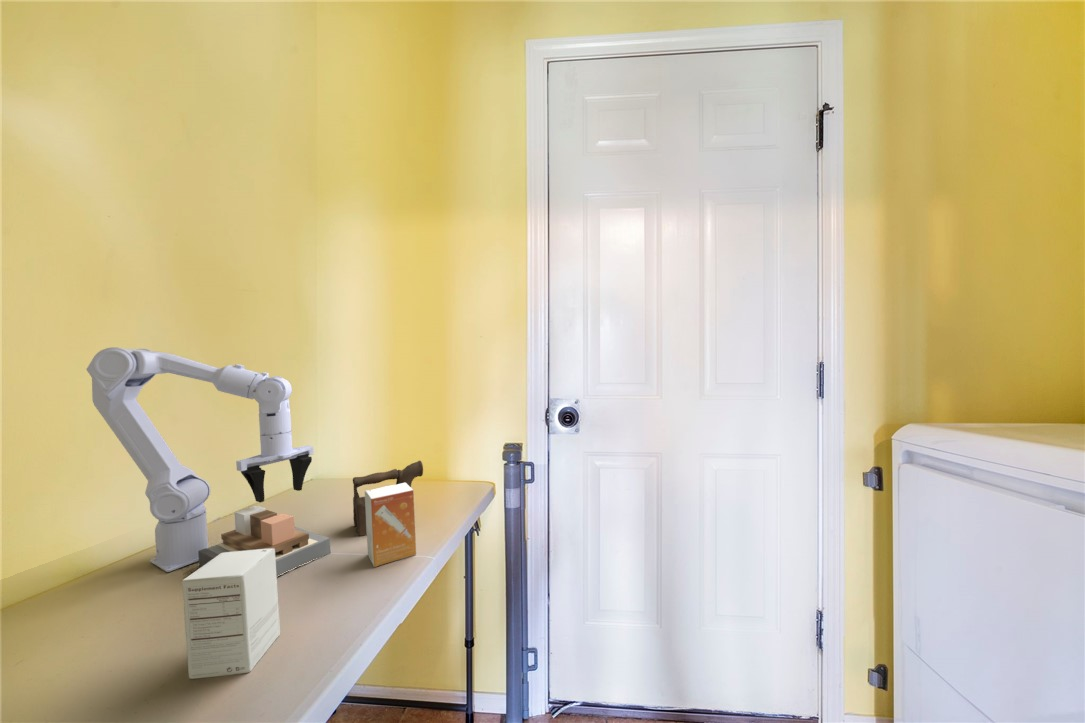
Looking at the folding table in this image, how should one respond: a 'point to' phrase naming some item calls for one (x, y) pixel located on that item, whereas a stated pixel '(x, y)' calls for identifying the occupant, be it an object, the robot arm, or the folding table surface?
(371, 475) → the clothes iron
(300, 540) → the pallet
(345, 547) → the folding table surface
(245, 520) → the block
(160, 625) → the folding table surface
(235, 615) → the supplement box
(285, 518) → the block
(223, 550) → the dock
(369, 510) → the small box
